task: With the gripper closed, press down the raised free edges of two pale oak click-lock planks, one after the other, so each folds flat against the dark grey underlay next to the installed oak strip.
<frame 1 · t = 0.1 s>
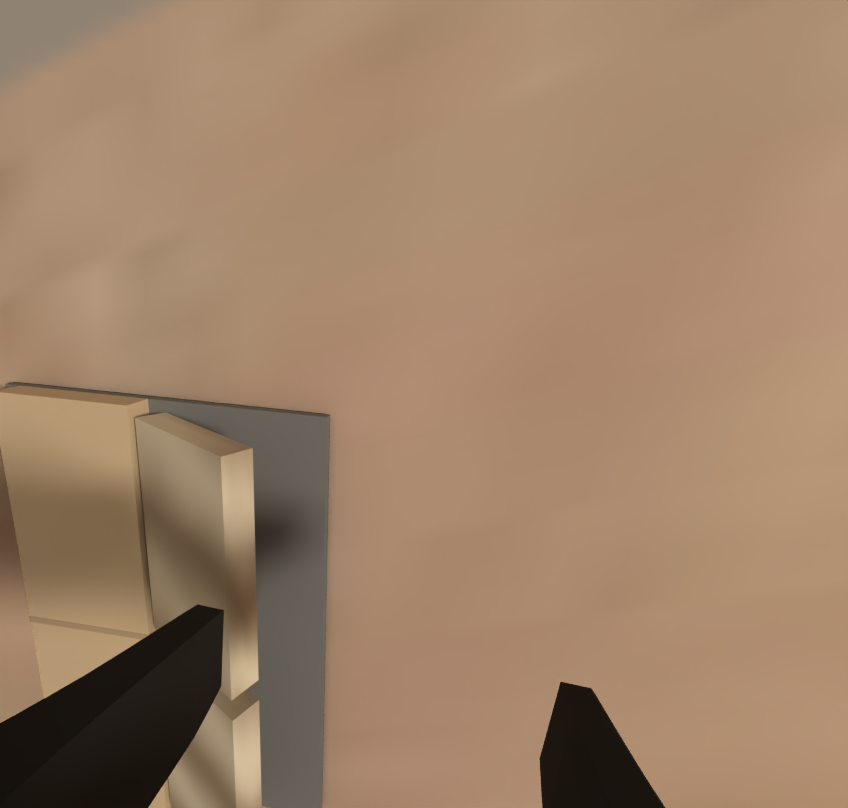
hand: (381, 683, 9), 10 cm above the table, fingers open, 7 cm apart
plank a: (209, 759, 21), point 2 cm above the table, hinge at 28.0°
plank b: (197, 549, 18), point 2 cm above the table, hinge at 28.0°
floor base: (187, 615, 22), on the table
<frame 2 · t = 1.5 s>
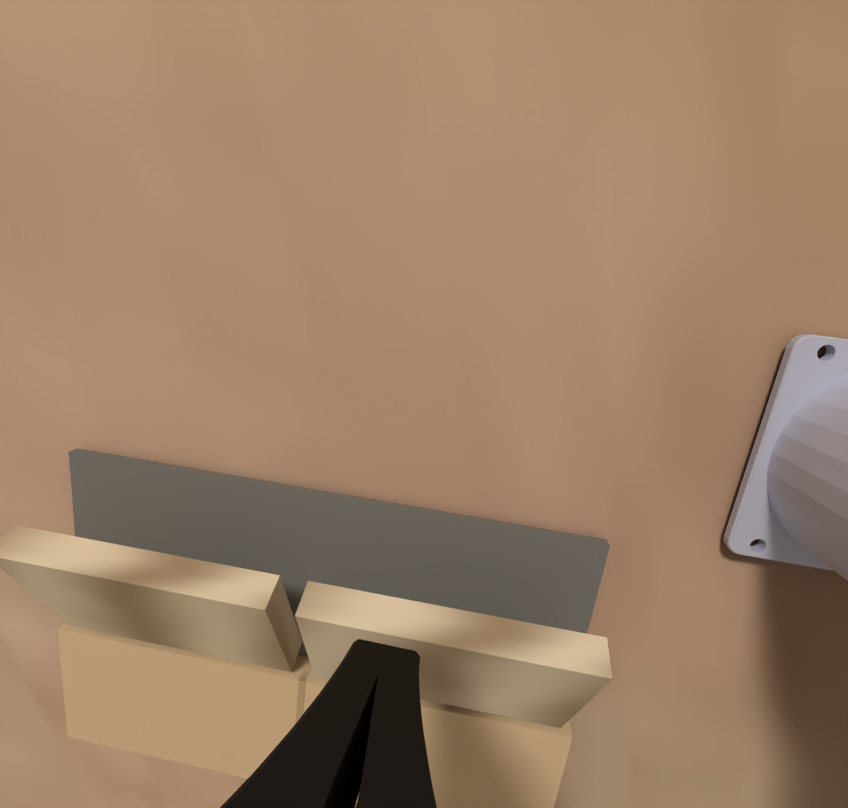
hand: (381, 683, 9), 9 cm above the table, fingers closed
plank a: (443, 659, 16), point 2 cm above the table, hinge at 28.0°
plank b: (162, 603, 17), point 2 cm above the table, hinge at 28.0°
floor base: (317, 636, 20), on the table
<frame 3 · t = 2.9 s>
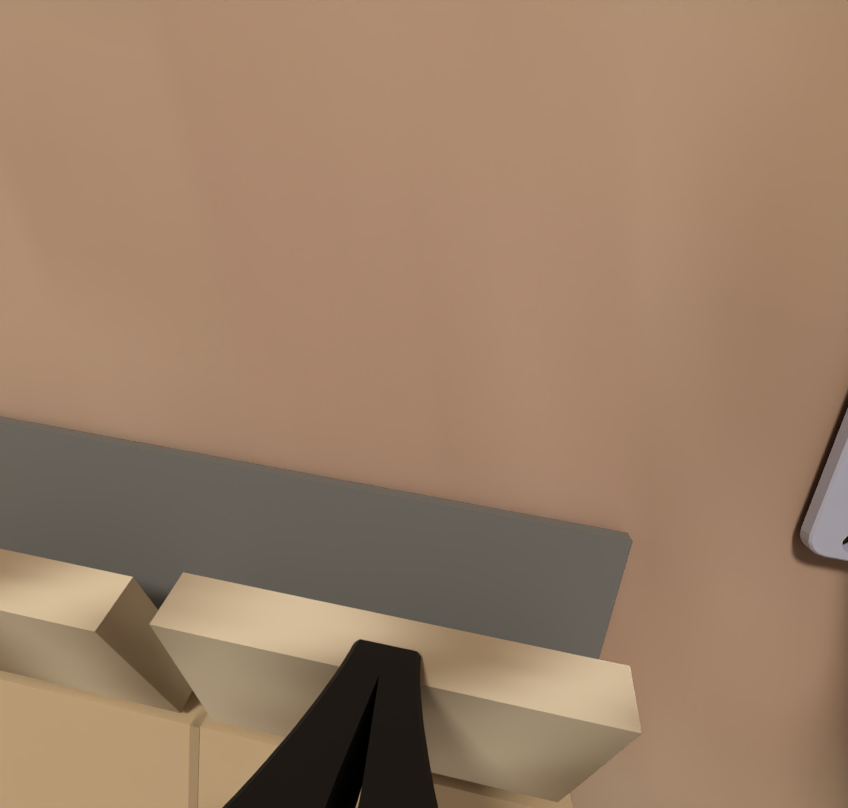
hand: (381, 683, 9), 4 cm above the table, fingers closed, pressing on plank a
plank a: (387, 697, 11), point 2 cm above the table, hinge at 24.8°, touching gripper
floor base: (225, 661, 14), on the table
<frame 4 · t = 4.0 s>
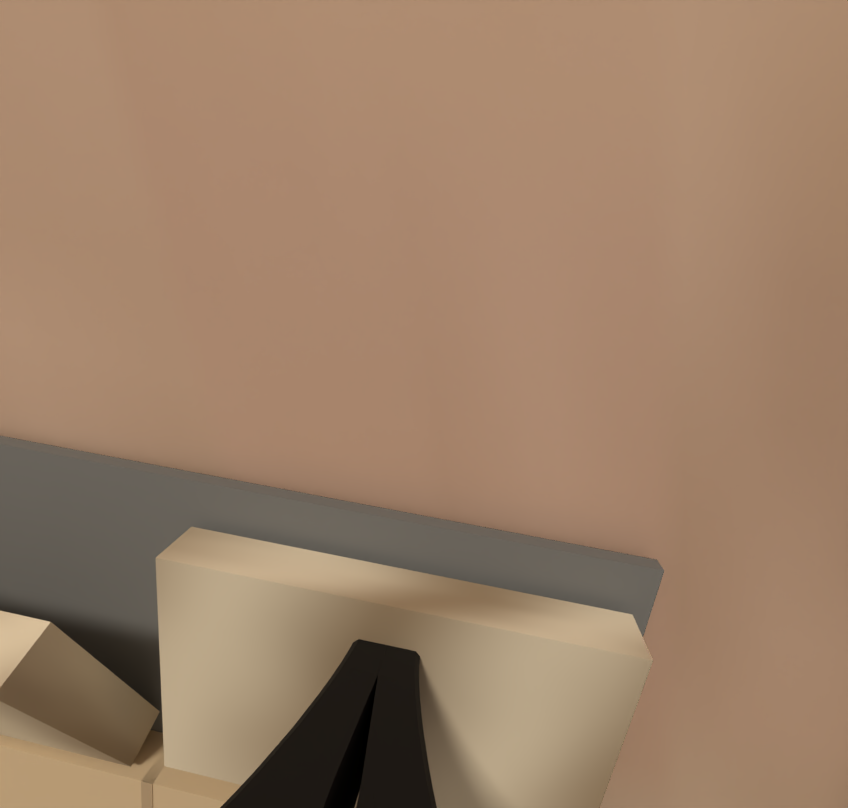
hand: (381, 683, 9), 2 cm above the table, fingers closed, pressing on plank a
plank a: (382, 695, 10), point 1 cm above the table, hinge at 2.2°, touching gripper
floor base: (187, 701, 13), on the table
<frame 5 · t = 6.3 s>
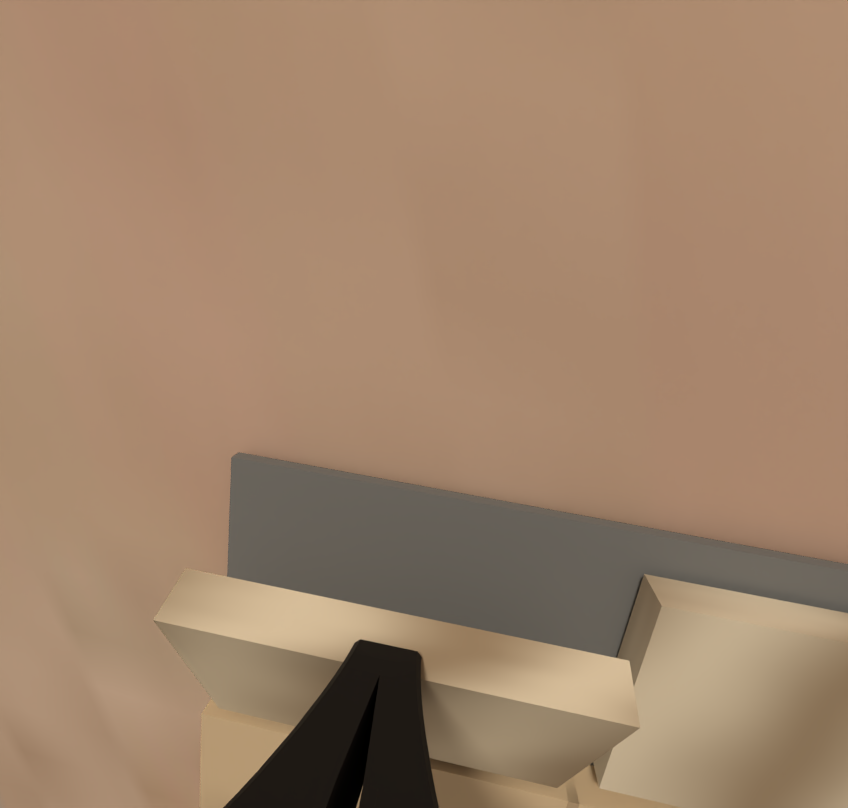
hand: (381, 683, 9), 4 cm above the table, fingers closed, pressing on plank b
plank a: (820, 726, 11), point 1 cm above the table, hinge at 1.9°
plank b: (389, 688, 11), point 2 cm above the table, hinge at 26.5°, touching gripper
floor base: (569, 726, 14), on the table
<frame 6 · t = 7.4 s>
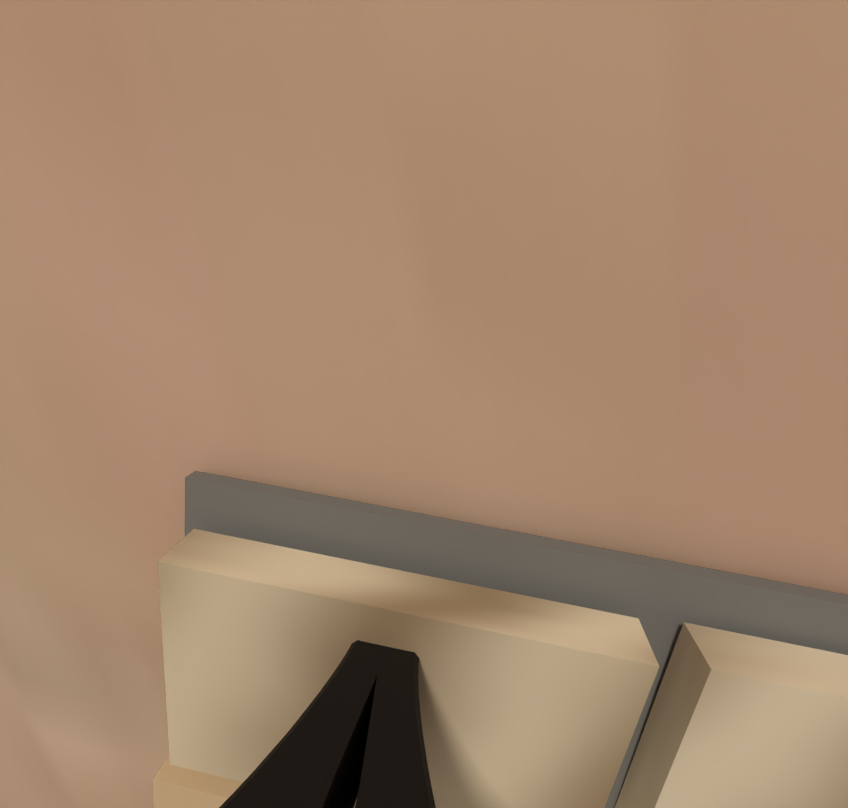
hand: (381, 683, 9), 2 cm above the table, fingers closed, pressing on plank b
plank b: (386, 696, 10), point 1 cm above the table, hinge at 3.5°, touching gripper
floor base: (587, 791, 12), on the table
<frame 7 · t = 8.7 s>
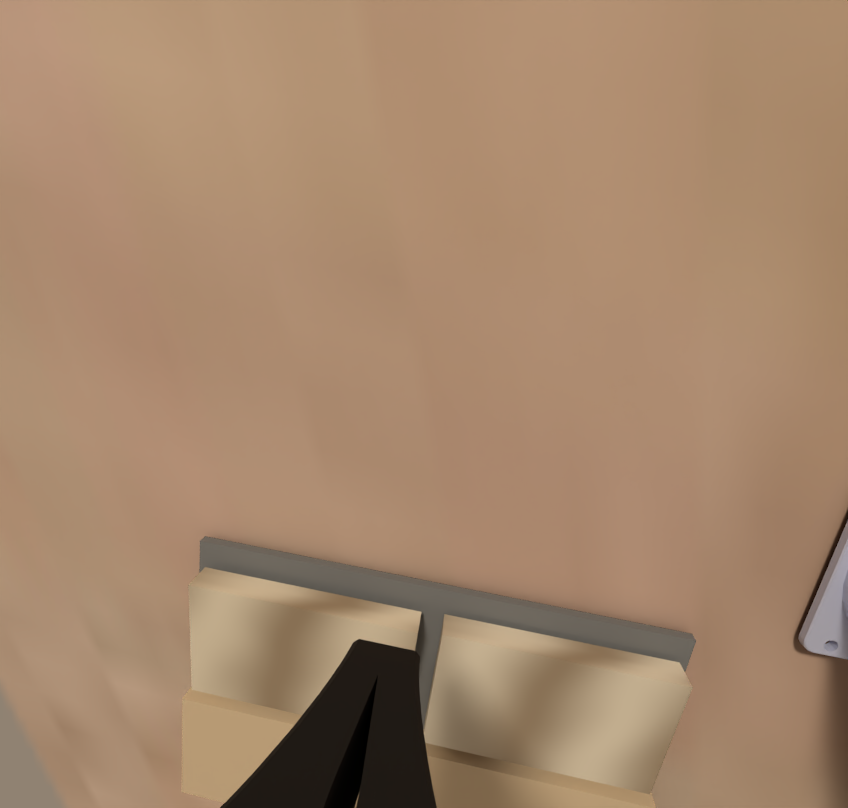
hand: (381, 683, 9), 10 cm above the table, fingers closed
plank a: (546, 703, 19), point 1 cm above the table, hinge at 1.9°
plank b: (302, 652, 20), point 1 cm above the table, hinge at 3.3°
floor base: (416, 706, 22), on the table
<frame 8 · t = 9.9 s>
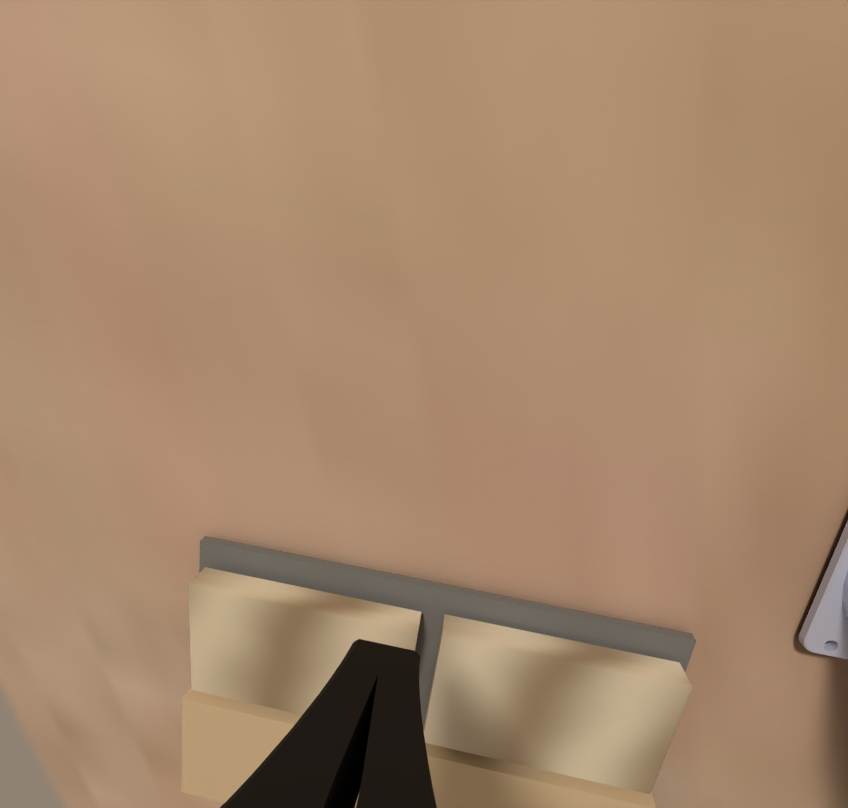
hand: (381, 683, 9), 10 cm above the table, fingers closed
plank a: (546, 703, 19), point 1 cm above the table, hinge at 1.9°
plank b: (302, 652, 20), point 1 cm above the table, hinge at 3.3°
floor base: (416, 706, 22), on the table
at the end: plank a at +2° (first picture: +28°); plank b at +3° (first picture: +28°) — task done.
